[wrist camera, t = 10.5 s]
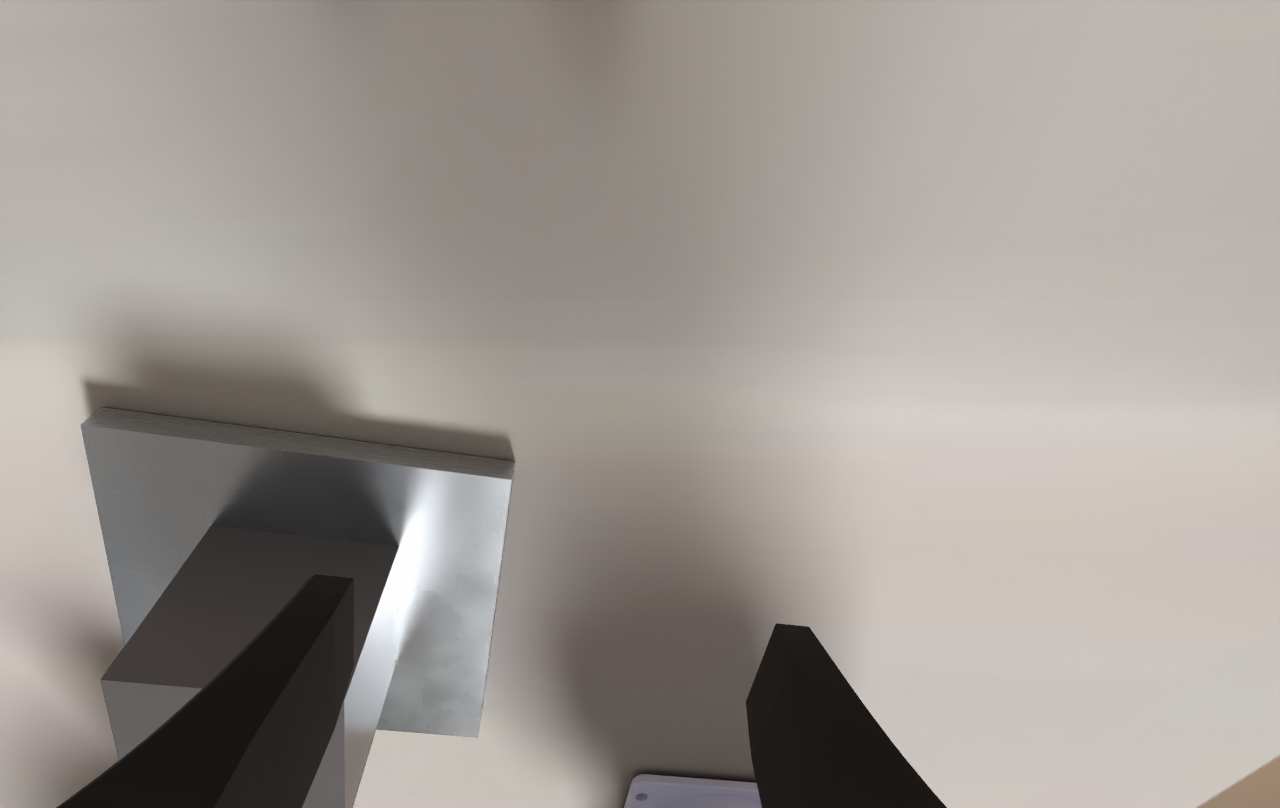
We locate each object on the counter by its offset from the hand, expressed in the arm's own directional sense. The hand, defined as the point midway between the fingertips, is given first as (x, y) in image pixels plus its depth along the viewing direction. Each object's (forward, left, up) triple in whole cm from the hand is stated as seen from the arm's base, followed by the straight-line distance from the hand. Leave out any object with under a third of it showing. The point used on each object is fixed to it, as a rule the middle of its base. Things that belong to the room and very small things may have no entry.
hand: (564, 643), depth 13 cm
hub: (-10, +8, -10) cm, 16 cm away
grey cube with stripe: (-9, +8, -9) cm, 15 cm away
